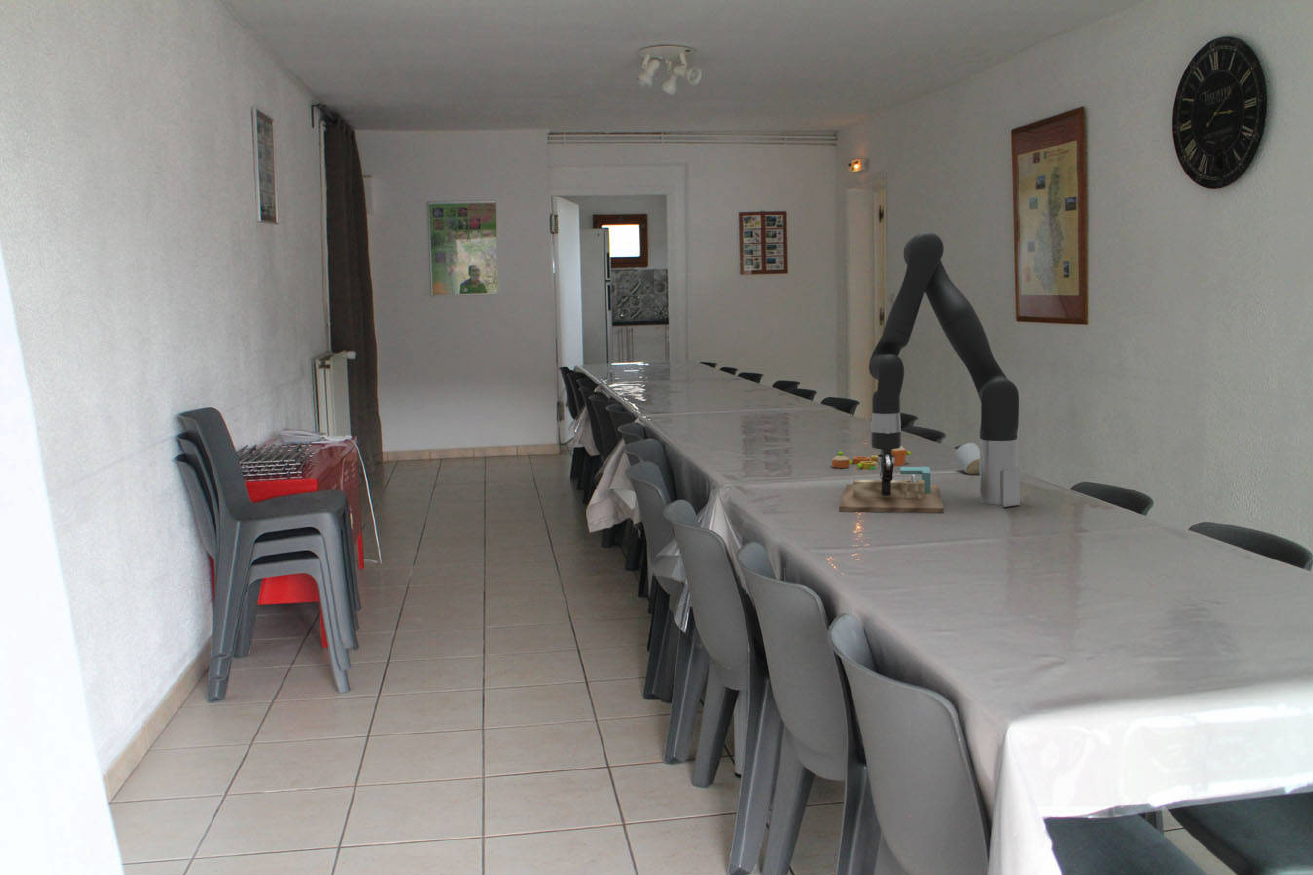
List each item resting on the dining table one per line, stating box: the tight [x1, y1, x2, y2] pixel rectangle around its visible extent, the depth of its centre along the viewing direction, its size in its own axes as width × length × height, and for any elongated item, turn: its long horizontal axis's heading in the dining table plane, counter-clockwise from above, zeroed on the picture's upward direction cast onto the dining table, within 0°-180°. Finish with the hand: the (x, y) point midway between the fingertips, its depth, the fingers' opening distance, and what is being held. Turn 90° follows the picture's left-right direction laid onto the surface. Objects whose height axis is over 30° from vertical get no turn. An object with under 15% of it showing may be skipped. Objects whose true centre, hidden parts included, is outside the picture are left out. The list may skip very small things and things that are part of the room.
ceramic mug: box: [954, 442, 980, 475], centre depth 315 cm, size 11×8×8 cm
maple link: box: [852, 479, 925, 499], centre depth 276 cm, size 18×6×4 cm, turn 75°
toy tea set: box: [831, 445, 912, 471], centre depth 332 cm, size 26×16×10 cm, turn 124°
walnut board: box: [839, 484, 944, 514], centre depth 277 cm, size 26×36×1 cm
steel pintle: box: [910, 474, 918, 483], centre depth 274 cm, size 2×2×6 cm
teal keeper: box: [899, 466, 931, 493], centre depth 285 cm, size 8×12×6 cm
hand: (886, 495), depth 272 cm, fingers closed
